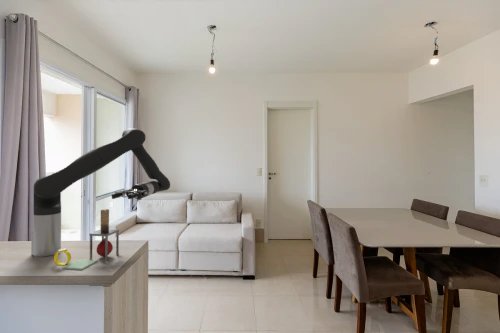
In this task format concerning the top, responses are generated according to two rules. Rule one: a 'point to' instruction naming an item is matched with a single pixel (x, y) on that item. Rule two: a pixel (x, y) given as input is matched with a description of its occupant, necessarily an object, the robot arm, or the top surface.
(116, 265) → the top surface
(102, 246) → the onion
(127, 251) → the top surface
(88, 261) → the mat
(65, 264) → the watch
